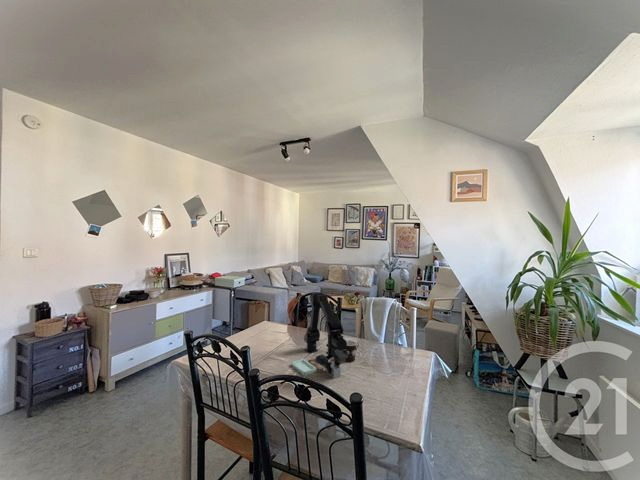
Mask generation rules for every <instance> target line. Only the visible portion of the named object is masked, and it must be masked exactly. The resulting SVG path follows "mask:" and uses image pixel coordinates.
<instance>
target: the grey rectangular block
mask: <svg viewBox="0 0 640 480" xmlns="http://www.w3.org/2000/svg"><path fill="white" fill-rule="evenodd" d="M331 362H332V364H331V373H330V374H329V373H328V371H327V368H326V367H325V368H326V370H325V371H326V373H327V374H328V375H329V376H330V377H331V378H332V379H333V380H335V379H338V378H339V379H340V378H341V367H340V365H339V366H338V365H337V364H335V362H334V361H331Z"/></svg>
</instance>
